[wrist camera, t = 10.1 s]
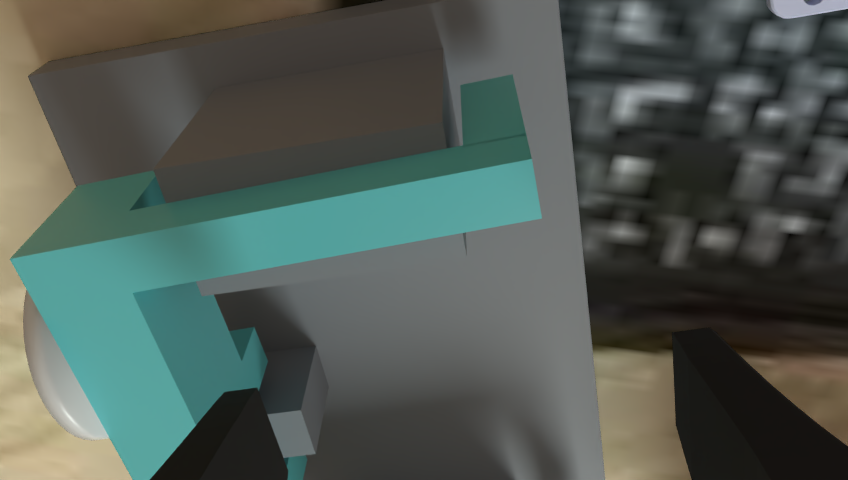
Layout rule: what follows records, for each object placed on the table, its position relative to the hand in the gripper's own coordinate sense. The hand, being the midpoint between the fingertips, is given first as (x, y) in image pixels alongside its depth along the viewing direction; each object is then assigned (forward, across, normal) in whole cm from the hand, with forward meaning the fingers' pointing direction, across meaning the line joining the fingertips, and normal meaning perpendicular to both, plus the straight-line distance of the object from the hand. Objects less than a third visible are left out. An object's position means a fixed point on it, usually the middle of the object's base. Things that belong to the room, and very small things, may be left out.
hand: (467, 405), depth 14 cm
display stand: (+9, +4, +5) cm, 11 cm away
